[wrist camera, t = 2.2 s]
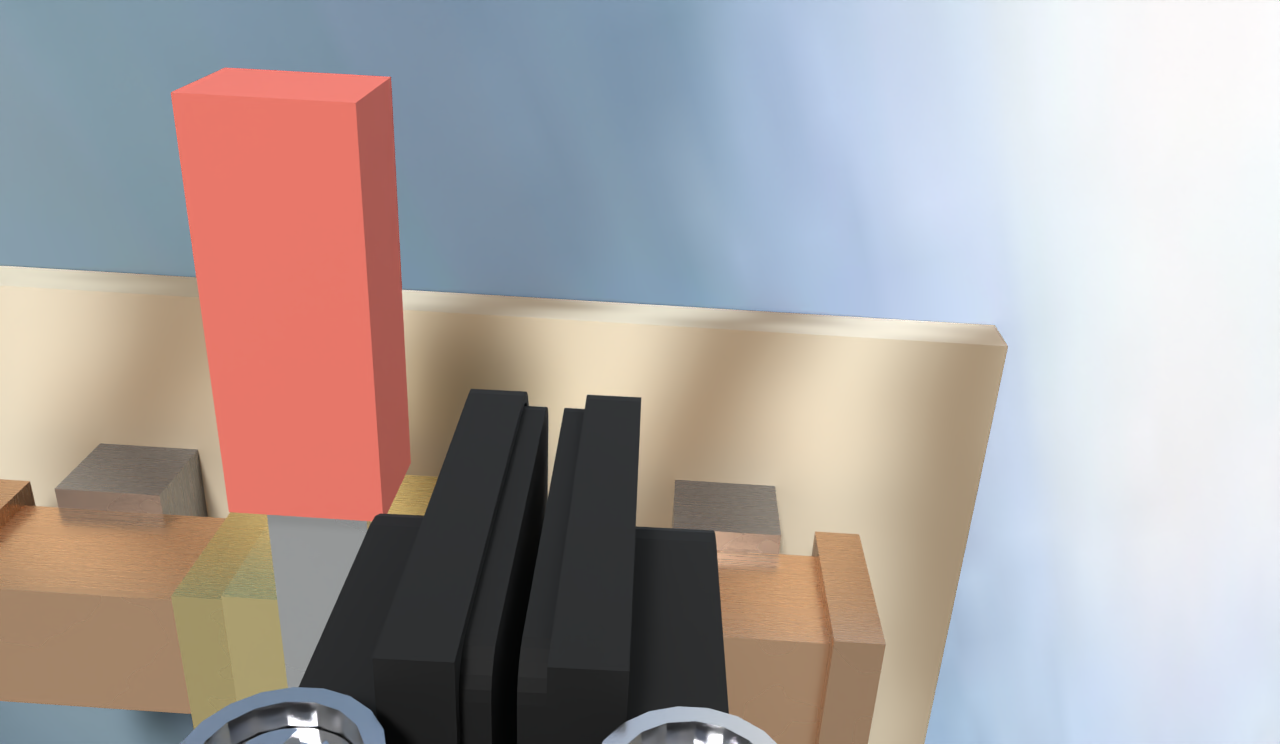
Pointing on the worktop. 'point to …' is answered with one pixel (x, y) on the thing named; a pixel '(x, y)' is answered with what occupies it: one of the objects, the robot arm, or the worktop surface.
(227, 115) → the valve lever
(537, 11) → the worktop surface
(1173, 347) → the worktop surface
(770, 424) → the board
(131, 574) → the valve body
